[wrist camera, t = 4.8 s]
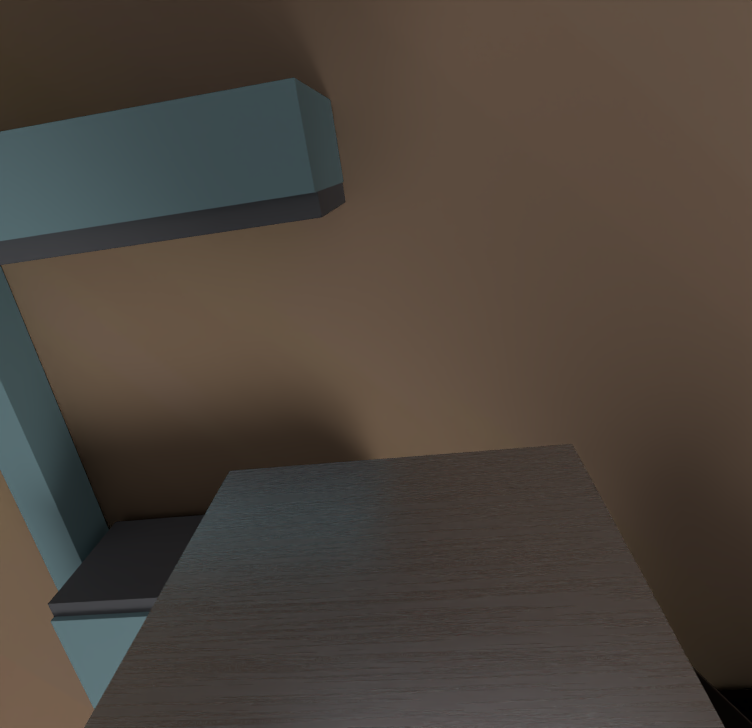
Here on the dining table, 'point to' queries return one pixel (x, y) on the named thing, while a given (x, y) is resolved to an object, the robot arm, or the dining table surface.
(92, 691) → the block
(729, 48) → the dining table surface
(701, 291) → the dining table surface
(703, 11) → the dining table surface
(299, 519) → the steel block
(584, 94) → the dining table surface
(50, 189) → the vise body
